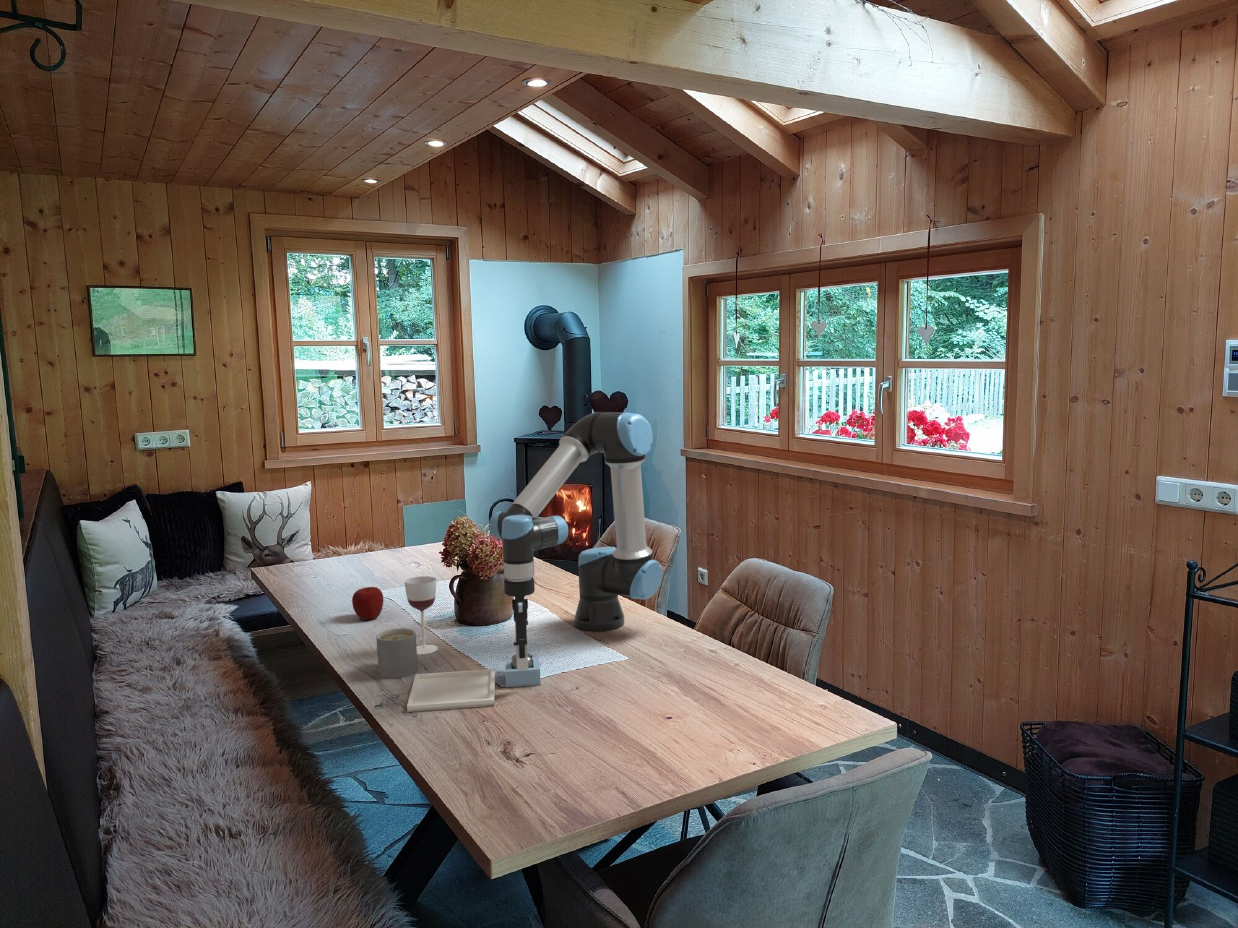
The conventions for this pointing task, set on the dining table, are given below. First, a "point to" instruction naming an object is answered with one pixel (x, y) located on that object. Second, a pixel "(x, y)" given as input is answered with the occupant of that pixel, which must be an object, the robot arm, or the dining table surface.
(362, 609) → the apple
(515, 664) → the pestle
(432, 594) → the wineglass
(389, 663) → the coffee mug
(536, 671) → the ring
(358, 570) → the dining table surface
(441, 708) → the tray
